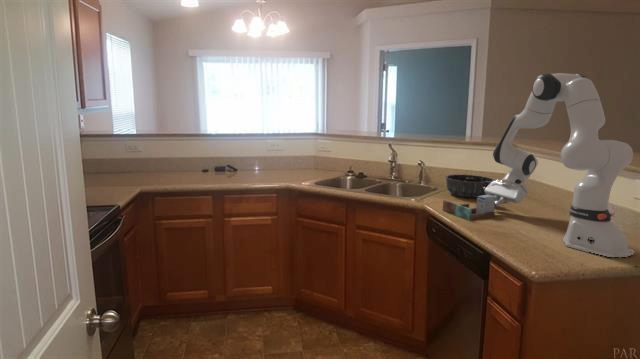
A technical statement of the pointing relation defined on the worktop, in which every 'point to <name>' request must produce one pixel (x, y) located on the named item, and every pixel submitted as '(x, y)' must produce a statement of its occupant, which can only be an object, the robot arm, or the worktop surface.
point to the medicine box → (485, 204)
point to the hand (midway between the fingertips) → (494, 204)
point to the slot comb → (464, 211)
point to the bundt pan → (466, 185)
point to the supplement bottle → (484, 187)
